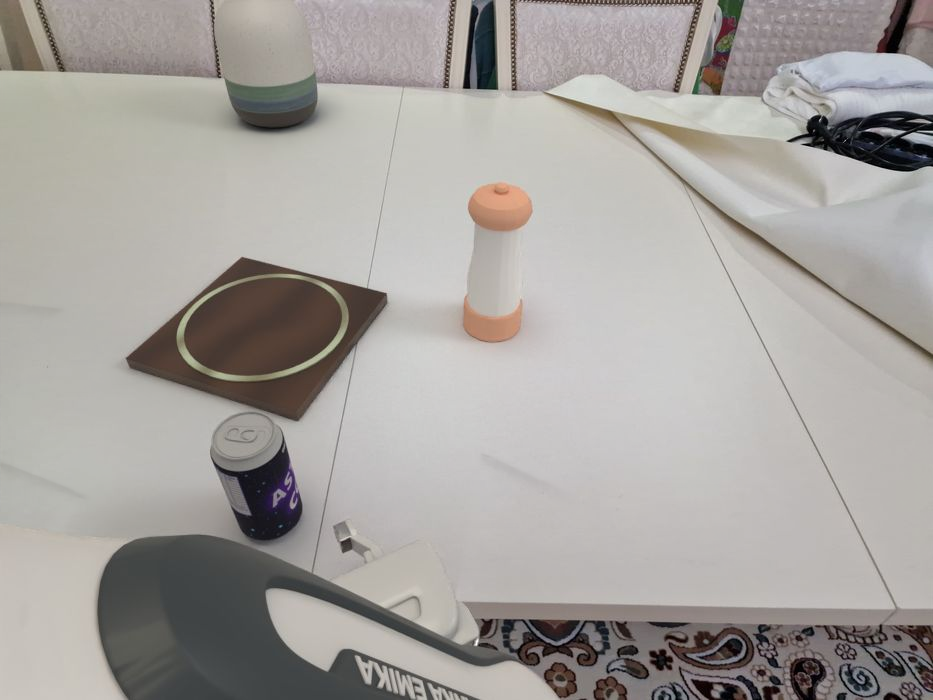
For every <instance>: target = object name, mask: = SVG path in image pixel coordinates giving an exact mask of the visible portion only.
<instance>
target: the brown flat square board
mask: <svg viewBox="0 0 933 700" xmlns="http://www.w3.org/2000/svg"><path fill="white" fill-rule="evenodd" d="M387 304H388V293H387V292H384V291H379V290H376V289H372V288H369V287H364V286H359V285H356V284H353V283H348V282H343V281H341V280H336V279H332V278H328V277H324V276H320V275H318V274H317V275H316V274H312V273H308V272H304V271H300V270H296V269H292V268H290V267H284V266H281V265H277V264H272V263H268V262H265V261H260V260H256V259H253V258H249V257H244V256H241V257H240V258H238V260H236V261H235V262H234V263H233V264H232V265H231V266H230V267H228V268H227V269H226V270H225V271H224V272H223V273H221V274H220V275H219V276H218V277H217V278H215V280H213V281H212V282H211V283H210V284H209V285H207V287H205V288H204V289H203V290H202V291H201V292H200V293H198V294H197V295H196V296H195V297H194V298H193V299H192V300H191V301H189V302H188V303H187V304H186V305H185V306H184V307H182V309H180V310H179V311H178V312H177V313H175V315H173V316H171V317H170V319H169V320H167V321H166V322H165V323H164V324H162V326H161V327H159V328H158V329H157V330H156V331H155V332H154V333H153V334H151V335H150V336H149V337H147V339H146V340H145V341H143V343H141V344H140V345H139V346H138V347H136V348H135V349H134V350H133V351H132V352H131V353H130V354H129V355H127V356H126V357H125V360H126V362H127V365H128V367H129V368H130V369H133V370H136V371H139V372H143V373H146V374H149V375H151V376H155V377H158V378H162V379H164V380H168V381H171V382H174V383H177V384H180V385H183V386H187V387H189V388H193V389H196V390H200V391H202V392H206V393H209V394H212V395H215V396H217V397H218V396H219V397H221V398H225V399H228V400H231V401H234V402H237V403H240V404H244V405H246V406H250V407H253V408H256V409H258V410H263V411H265V412H269V413H272V414H275V415H278V416H282V417H285V418H288V419H291V420H294V421H297V422H298V421H300V419H301V418H302V417H303V415H304V414H305V413H306V411H307V410H308V408H309V407H310V406H311V405H312V403H313V402H314V400H315V399H316V398H317V397H318V395H319V394H320V392H321V391H322V390H323V388H325V386H326V385H327V383H328V382H329V380H331V378H332V377H333V376H334V374H335V373H336V371H337V370H338V369H339V368H340V366H341V365H342V363H343V362H344V360H345V359H347V357H348V355H349V354H350V353H351V351H352V350H353V349H354V348H355V346H356V345H357V343H358V342H359V341H360V340H361V338H362V337H363V335H364V334H365V333H366V331H367V330H368V329H369V327H370V326H371V325H372V324H373V322H374V321H375V319H376V318H377V317H378V316H379V314H380V313H381V312H382V310H383V309H384V308H385V306H386V305H387Z"/></svg>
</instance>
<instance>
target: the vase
mask: <svg viewBox="0 0 933 700" xmlns="http://www.w3.org/2000/svg"><path fill="white" fill-rule="evenodd" d="M310 31H311V30H310V26H309V23H308V21H307V19H306V16H305V14H304V13H303V11H302V10H301V8H300V7H299V6H298V5H297V4H296V3H295V2H294V1H292V0H224V1H223V2H222V3H221V4H220V6H219V7H218V9H217V11H216V13H215V16H214V23H213V33H214V39H215V40H214V41H215V44H216V49H217V53H218V58H219V61H220V66H221V70H222V75H223V79H224V83H225V87H226V91H227V96H228V98H229V101H230V105H231V107H232V108H233V110H234V111H235V113H236V115H237V116H238V117H239V118H240V119H241V120H243V121H244V122H246V123H247V124H250V125H252V126H257V127H263V128H284V127H290V126H294V125H298V124H300V123H302V122H305V121H306V120H308V119H309V118H310V117H311V116H313V114H314V113H315V110H316V108H317V104H318V99H319V98H318V96H319V95H318V94H319V93H318V81H317V75H316V66H315V60H314V51H313V45H312V37H311V32H310Z"/></svg>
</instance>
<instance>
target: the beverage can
mask: <svg viewBox="0 0 933 700" xmlns="http://www.w3.org/2000/svg"><path fill="white" fill-rule="evenodd" d="M209 455H210V459H211V461H212V464H213V466H214V469H215V471H216V473H217V476H218V478H219V481H220V483H221V486H222V488H223V491H224V493H225V496H226V498H227V501H228V503H229V505H230V507H231V511H232V512H233V515H234V517H235V521H236V522H237V525H238V526H239V529H240V531H241V532H242V534H243V535H245V536H246V537H248V538H249V539H252V540H255V541H259V542H260V541H261V542H264V541H265V542H267V541H272V540H277V539H279V538H281V537H283V536H285V535H287V534H288V533H290V532H291V531H292V530H293V529H294V528H295V527H296V526H297V524H298V523H299V521H300V519H301V517H302V514H303V502H302V498H301V494H300V490H299V487H298V484H297V479H296V476H295V475H296V474H295V472H294V468H293V464H292V461H291V457H290V454H289V450H288V446H287V442H286V439H285V435H284V432H283V430H282V428H281V427H280V426H279V425H278V423H276V422H275V421H274V419H273V418H272V417H271V416H270V415H268V414H267V413H265V412H261V411H257V410H245V411H240V412H236V413H234V414H232V415H229V416H228V417H226V418H224V419H223V420H222V421H221V422H219V424H218V425H216V427H215V429H214V430H213V432H212V435H211V445H210V449H209Z"/></svg>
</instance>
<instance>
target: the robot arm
mask: <svg viewBox="0 0 933 700" xmlns="http://www.w3.org/2000/svg"><path fill="white" fill-rule="evenodd" d="M332 528H333V533H334V536H335V539H336V541H337V543H338V546H339V549H340V551H341V553H342V554H345V553H348V552H350V551H353V552H355V553H356V554H358V555H359V556H361V557H362V558H363V561H364V563H363V564H362V565H360V566H358V567H356V568H353V569H351V570H349V571H347V572H344V573H342V574H340V575H339V576H336V577H334V578H332V579H330V580H328V579H325V578H323V577H321V576H320V575H316V574H315V573H312V572H311V571H308V570H306V569H303V568H301V567H299V566H297V565H295V564H292V563H291V562H288V561H286V560H283V559H281V558H279V557H277V556H274V555H272V554H269V553H267V552H265V551H262V550H259V549H257V548H254V547H252V546H249V545H246V544H243V543H241V542H238V541H235V540H231V539H229V538H224V537H220V536H215V535H210V534H200V533H195V534H194V533H193V534H178V535H177V534H176V535H175V534H173V535H155V536H146V537H145V536H144V537H139V538H122V537H121V538H120V537H103V536H89V535H81V534H71V533H64V532H63V533H62V532H56V531H55V532H54V531H47V530H40V529H35V528H31V527H23V526H19V525H13V524H9V523H3V522H0V700H561V698H560V697H559V696H558V694H557V693H556V692H555V691H554V690H553V688H551V686H550V685H549V684H548V683H547V682H546V681H545V680H544V679H543V677H541V676H540V675H539V674H537V673H536V672H535V671H533V670H532V669H531V668H530V667H529V666H528V665H527V664H526V663H525V662H523V661H522V660H521V659H519V657H516V656H514V655H513V654H509V653H507V652H503V651H501V650H498V649H493V648H489V647H485V646H479V644H480V641H481V631H480V627H479V625H478V623H477V621H476V620H475V618H474V616H473V615H472V612H471V611H470V609H469V608H468V607H467V605H466V604H464V603H463V602H462V601H460V600H459V599H456V597H455V593H454V590H453V587H452V584H451V581H450V579H449V576H448V574H447V571H446V569H445V566H444V563H443V561H442V559H441V557H440V555H439V553H438V551H437V549H436V547H435V546H434V545H433V544H430V543H428V542H426V541H423V540H421V539H418V540H417V539H416V540H415V541H412V542H410V543H407V544H405V545H403V546H401V547H399V548H397V549H395V550H392V551H391V552H388V553H386V554H385V553H384V551H383V549H382V547H381V545H380V544H378V543H377V542H375V541H374V540H371V539H370V538H369V537H366V536H365V535H363V534H361V533H358V531H357V528H356V526H355V524H354V522H353V520H352V518H348V519H346V520H342V521H340V522H338V523H337V524H335V525H333V526H332Z"/></svg>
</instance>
